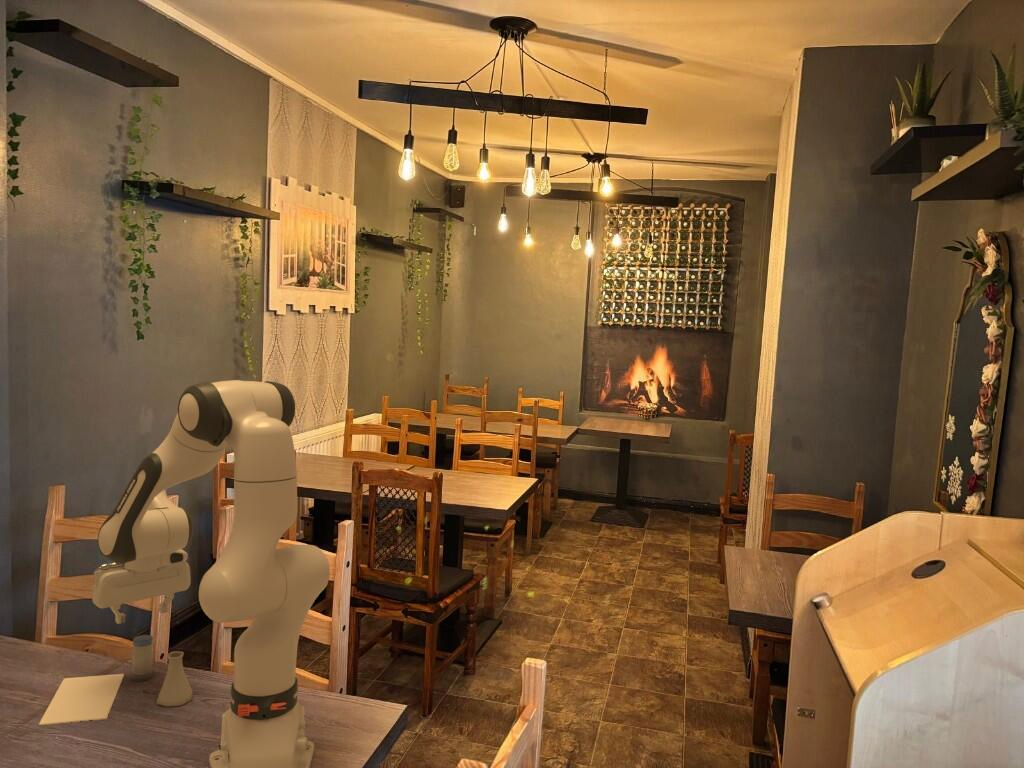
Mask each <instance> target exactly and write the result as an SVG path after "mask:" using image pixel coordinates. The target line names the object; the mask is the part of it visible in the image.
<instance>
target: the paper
mask: <svg viewBox="0 0 1024 768" xmlns="http://www.w3.org/2000/svg"><path fill="white" fill-rule="evenodd" d="M124 676H125V673H116V674H103V675H93V676H92V675H91V676H79V677H65V678H63V680H62V682H61V683H60V684H59V687H58V689H57V690H56V692H55V695H54V696H53V697H52V699H51V701H50V703H49V705H48V707H47V708H46V710H45V712H44V714H43V715H42V717H41V719H40V721H39V723H38V726H49V725H57V724H59V725H60V724H70V723H71V722H72V723H80V721H82V722H90V721H89V720H93V721H101V720H107V719H108V717H109V715H110V712H111V709H112V707H113V704H114V702H115V699H116V697H117V694H118V693H119V689H120V686H121V685H122V682H123V679H124ZM108 714H109V715H108ZM72 723H71V724H72Z"/></svg>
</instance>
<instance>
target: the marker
mask: <svg viewBox="0 0 1024 768" xmlns="http://www.w3.org/2000/svg"><path fill="white" fill-rule="evenodd" d="M153 644H154V637H153V635H149V634H143V635H142V634H141V635H138V636H135V637H134V638H132V670H131V671H132V677H131V678H132V681H134V682H140V681H141V682H145V681H148V679H149V680H151V677H152V678H153V653H154V652H153V651H154V650H153V647H154V645H153Z"/></svg>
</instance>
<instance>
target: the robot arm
mask: <svg viewBox="0 0 1024 768" xmlns="http://www.w3.org/2000/svg"><path fill="white" fill-rule="evenodd" d="M291 391H292V390H290V389H289V388H288V387H287V385H285V384H282V383H280V382H275V381H272V380H271V381H269V380H266V381H256V380H253V381H252V380H240V379H234V380H232V379H231V380H220V381H215V382H209V381H204V382H200V383H195V384H193V385H191V386H188V387H186V388H185V390H183V392H182V394H181V396H180V398H179V400H178V406H177V414H176V416H175V418H174V420H173V422H172V426H171V428H170V430H169V432H168V434H167V436H166V437H165V439H164V440H163V441H162V442H161V444H160V445H159V446H158V447H157V448H155V450H153V451H152V452H151V453H150V454H148V455H147V456H146V457H144V458H143V459H142V461H141V462H140V463H139V465H138V467H137V468H136V470H135V472H134V473H133V475H132V476H131V479H130V480H129V481H128V484H127V486H126V488H125V489H124V491H123V493H122V494H121V496H120V498H119V500H118V502H117V504H116V505H115V507H114V509H113V511H112V512H111V513H110V514H109V516H108V517H107V518H105V520H104V521H103V523H102V524H101V526H100V528H99V530H98V534H97V544H98V545H97V546H98V549H99V552H100V554H101V555H102V556H103V557H105V558H106V559H107V560H109V561H111V563H103V564H101V565H100V566H99V567H97V568H96V569H95V570H94V571H93V581H92V582H93V583H94V585H93V589H92V599H91V600H92V603H93V604H94V606H96V607H98V608H99V609H106V608H109V609H110V610H111V611H112V612H113V614H114V615H115V616H114V617H115V618H114V619H115V621H114V622H115V623H116V624H117V625H119V624H123V623H124V624H125V623H126V617H127V616H126V614H125V613H123V612H120V611H119V610H120V609H121V606H122V605H125V604H128V603H133V602H138V601H142V600H148V599H151V598H156V597H160V596H165V597H164V599H163V602H162V603H159V604H158V613H160V614H167V613H169V608H170V604H171V603H172V601H173V599H174V598H175V594H176V593H178V592H183V591H187V590H188V589H189V588H190V586H191V583H192V582H191V569H190V565H189V563H188V562H187V561H188V559H189V555H188V553H187V551H185V550H184V549H185V548H186V547H187V546H188V545H189V544H190V542H191V540H192V538H193V536H194V529H195V528H194V526H195V524H194V519H193V516H192V515H191V514H190V513H189V511H187V510H186V509H185V508H183V507H182V506H181V507H180V506H177V505H176V504H175V503H174V502H173V501H171V500H170V498H168V494H167V490H168V489H170V488H171V487H174V486H177V485H178V484H181V483H184V482H186V481H187V482H188V481H190V480H194V479H196V478H199V477H201V476H204V475H206V474H207V473H209V472H211V471H212V470H213V469H215V467H216V466H217V464H218V463H219V462H220V461H221V459H222V457H223V456H224V453H225V452H226V449H227V445H230V447H231V448H232V450H233V451H232V452H233V457H234V458H233V459H234V463H233V464H234V465H233V486H234V487H233V493H234V494H233V519H232V525H231V529H230V533H229V536H228V538H227V541H226V544H225V545H224V547H223V549H222V551H221V554H220V555H219V557H218V559H217V560H216V561H215V562H214V564H213V565H212V566H211V567H210V568H209V569H208V570H207V571H206V572H205V573H204V575H203V576H202V578H201V581H200V584H199V586H198V600H199V604H200V606H201V609H202V611H203V613H204V614H205V615H206V616H207V617H208V618H209V619H210V620H212V621H213V622H214V623H218V624H222V623H223V624H225V623H226V624H227V623H237V622H244V621H247V620H251V619H253V620H252V622H251V623H250V625H249V626H248V627H247V629H245V630H244V631H243V632H242V633H241V635H240V636H239V638H238V639H237V641H236V643H235V646H234V652H233V653H234V655H233V657H234V658H233V682H232V684H231V686H230V692H229V698H230V707H229V708H228V709H227V710H225V712H224V713H223V714H222V716H221V733H220V734H221V735H220V743H219V745H218V749H217V750H215V751H212V752H211V753H210V754H209V758H208V763H209V766H210V768H311V764H312V759H313V756H314V753H315V743H314V742H313V741H311V740H308V737H307V736H306V735H305V729H306V728H307V720H305V706H304V705H302V704H301V703H300V702H299V701H298V694H299V686H298V685H299V684H298V678H297V677H296V676H297V675H296V672H297V670H296V669H297V656H298V655H297V654H298V645H299V640H300V636H301V631H302V628H303V625H304V622H305V621H306V617H307V616H308V614H309V612H310V610H311V607H312V606H313V604H314V603H315V600H317V598H318V597H319V595H320V594H321V593H322V592H323V591H324V590H325V588H326V587H327V586H328V584H329V581H330V577H331V568H330V563H329V560H328V558H327V556H326V554H325V553H324V551H323V549H321V548H319V547H318V546H316V545H313V544H291V545H287V546H283V547H282V546H281V547H278V544H279V541H281V538H282V537H283V535H284V533H285V532H286V531H287V530H288V529H289V528H290V527H292V525H293V524H294V523H295V520H296V519H297V516H298V482H297V481H298V476H297V458H296V451H295V445H294V440H293V436H292V432H291V429H290V426H291V425H292V423H293V421H294V419H295V415H296V402H295V399H294V395H293V394H292V392H291ZM277 547H278V548H277Z"/></svg>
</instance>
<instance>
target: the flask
mask: <svg viewBox="0 0 1024 768" xmlns="http://www.w3.org/2000/svg"><path fill="white" fill-rule="evenodd" d="M184 654H185V652H184V651H180V650H178V651H171V652H169V653H168V654H167V656H166V657H167V660H168V667H167V672H166V675H165V678H164V681H163V683H162V685H161V686H162V687H161V689H160V690H159V691H160V692H159V693H158V696H157V700H156V705H158V706H159V705H160V706H163V707H169V708H170V707H178V706H179V707H180V706H183V705H184V704H186V703H189V702H190V701H191V700H193V694H194V692H193V689H192V687H191V685H190V682H189V681H188V678H187V675H186V672H185V670H184V665H183V657H184Z"/></svg>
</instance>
